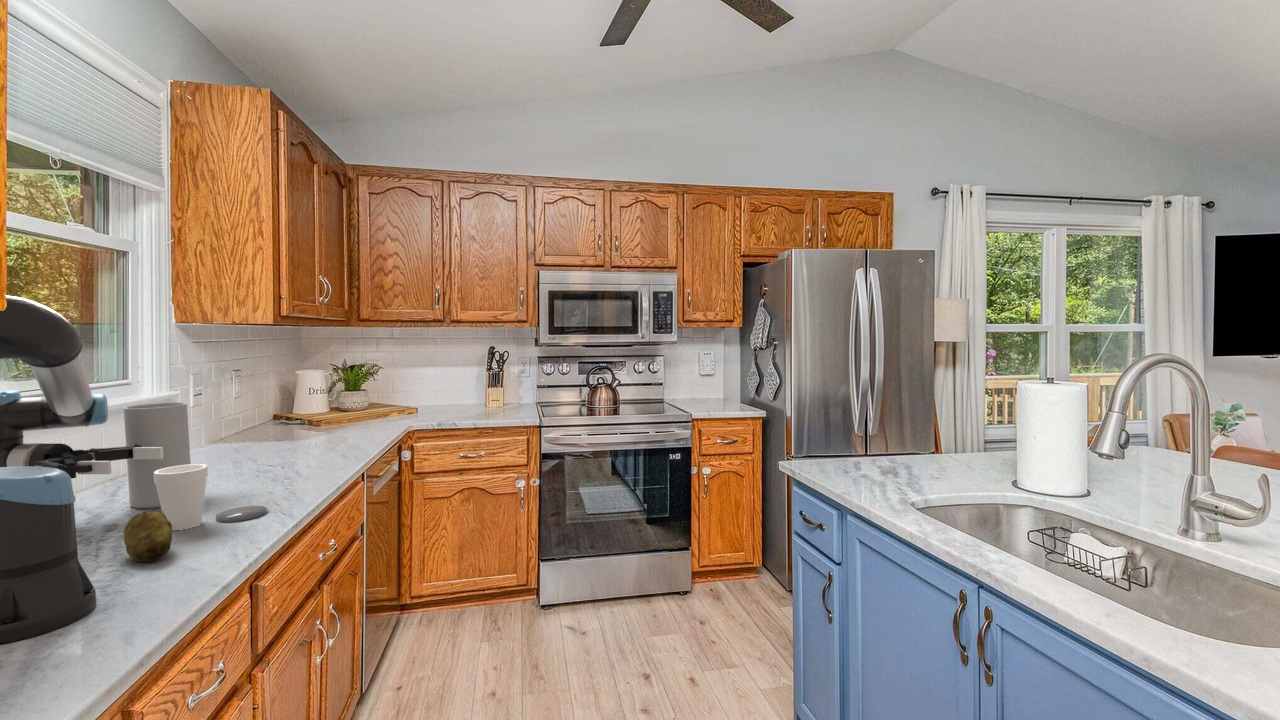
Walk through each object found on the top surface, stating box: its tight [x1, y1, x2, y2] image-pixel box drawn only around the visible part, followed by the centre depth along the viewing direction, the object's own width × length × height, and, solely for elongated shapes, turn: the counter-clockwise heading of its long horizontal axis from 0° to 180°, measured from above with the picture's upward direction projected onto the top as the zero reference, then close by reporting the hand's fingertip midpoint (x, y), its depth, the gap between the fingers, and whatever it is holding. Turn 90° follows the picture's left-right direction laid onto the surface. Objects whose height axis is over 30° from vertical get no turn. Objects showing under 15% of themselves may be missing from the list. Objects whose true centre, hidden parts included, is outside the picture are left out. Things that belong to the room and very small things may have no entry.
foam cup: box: [154, 463, 209, 531], centre depth 133 cm, size 10×9×13 cm
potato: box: [123, 510, 173, 563], centre depth 115 cm, size 8×13×8 cm, turn 29°
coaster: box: [215, 505, 268, 523], centre depth 140 cm, size 10×10×1 cm
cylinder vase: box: [123, 401, 192, 509], centre depth 152 cm, size 12×12×25 cm
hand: (137, 459), depth 133 cm, fingers open, 13 cm apart
